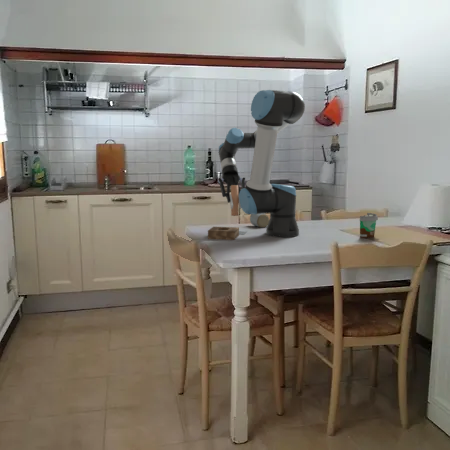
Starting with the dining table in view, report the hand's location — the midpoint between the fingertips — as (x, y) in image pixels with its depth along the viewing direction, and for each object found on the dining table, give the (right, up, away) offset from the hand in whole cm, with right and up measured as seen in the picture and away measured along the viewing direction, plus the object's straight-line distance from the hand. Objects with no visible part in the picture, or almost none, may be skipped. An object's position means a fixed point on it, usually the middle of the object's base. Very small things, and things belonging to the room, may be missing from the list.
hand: (236, 207), depth 218 cm
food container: (+60, -14, -4) cm, 62 cm away
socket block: (-6, -14, -4) cm, 16 cm away
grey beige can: (+14, -9, +24) cm, 29 cm away
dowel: (-1, -4, +4) cm, 6 cm away
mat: (0, -12, +6) cm, 14 cm away
